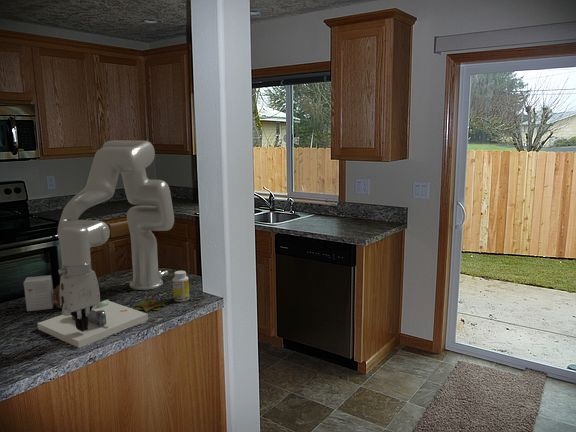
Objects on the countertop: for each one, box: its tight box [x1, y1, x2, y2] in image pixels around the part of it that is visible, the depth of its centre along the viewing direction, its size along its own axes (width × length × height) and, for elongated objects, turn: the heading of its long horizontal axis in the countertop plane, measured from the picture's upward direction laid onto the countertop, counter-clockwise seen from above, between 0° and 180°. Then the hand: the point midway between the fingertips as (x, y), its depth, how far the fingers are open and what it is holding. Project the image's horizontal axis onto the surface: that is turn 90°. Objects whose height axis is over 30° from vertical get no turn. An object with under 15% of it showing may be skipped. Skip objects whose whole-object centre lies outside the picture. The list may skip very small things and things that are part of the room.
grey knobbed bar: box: [72, 309, 106, 326], centre depth 146 cm, size 15×5×4 cm, turn 55°
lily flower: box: [133, 293, 167, 313], centre depth 163 cm, size 12×12×5 cm
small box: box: [23, 274, 55, 312], centre depth 162 cm, size 8×6×10 cm
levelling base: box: [37, 299, 149, 349], centre depth 148 cm, size 24×22×4 cm
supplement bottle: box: [172, 270, 190, 302], centre depth 169 cm, size 6×6×10 cm
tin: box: [53, 284, 62, 309], centre depth 166 cm, size 15×3×8 cm, turn 168°
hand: (82, 329), depth 137 cm, fingers closed
